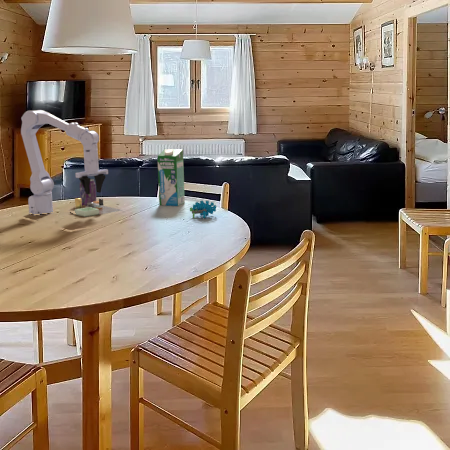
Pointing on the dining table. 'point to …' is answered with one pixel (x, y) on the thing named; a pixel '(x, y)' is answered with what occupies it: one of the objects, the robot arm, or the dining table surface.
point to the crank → (96, 204)
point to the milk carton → (171, 177)
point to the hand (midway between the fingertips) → (93, 193)
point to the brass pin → (78, 203)
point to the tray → (87, 211)
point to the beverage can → (88, 197)
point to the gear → (203, 208)
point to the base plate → (104, 209)
